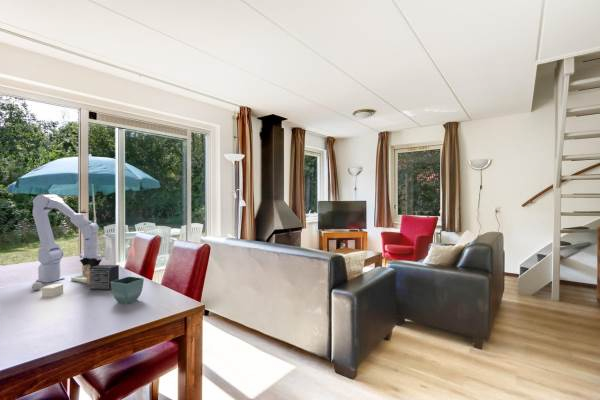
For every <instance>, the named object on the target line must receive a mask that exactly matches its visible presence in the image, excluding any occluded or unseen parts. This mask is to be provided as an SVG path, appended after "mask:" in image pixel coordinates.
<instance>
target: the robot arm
mask: <svg viewBox="0 0 600 400" xmlns="http://www.w3.org/2000/svg"><path fill="white" fill-rule="evenodd" d="M32 203H33V207H32V216H33V217H32V218H33V219H34V224H35V226H36V231H37V235H38V239H39V242H40V247H39V249H38V250H37V252H38V253H37V254H38V255H37V261H38V262H39V263H40V265H39V266H38V269H37V270H38V272H37V273H38V279H36V282H40V283H46V284H47V283H51V282H55V281H61V280H63V279H65V277H62V276H61V261H62V260H61V259H63V257H64V250H62V248H61V246H60V245H59V244H58V243H56V241H55V238H54V233H53V230H52V227H51V223H50V218H49V215H48V214H49V213H50V211H52V210H53V209H56V210H59V211H60V212H61V213H62V214H64V215H65V216H67V217H68V218H69V219H70V222H71V223H72V224H73V225H74V226H76V227H77V229H80V233H81V234H82V237H83V253H80V254H79V258H80V260H79V262H80V263H81V265H82V266H83V265H87V264H90V267H93V266H97V265H101V264H100V263H101V262H102V260H103V256H102V255H101V254H98V232H99V231H100V225H98V223H96V222H92V220H89V219H88V218H87V217H85V214H84V213H77V212H75V210H73V208H71V207H70V206H69V205H68V204H67V203H66V202H64V200H63V198H61V197H60V196H59V195H57V194H39V195H36V196H35V197H34V198H33V200H32Z"/></svg>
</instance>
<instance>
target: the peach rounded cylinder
mask: <svg viewBox="0 0 600 400" xmlns="http://www.w3.org/2000/svg"><path fill="white" fill-rule="evenodd" d="M86 285H87V286H90V273H89V274H87V284H86Z"/></svg>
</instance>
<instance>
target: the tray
mask: <svg viewBox="0 0 600 400" xmlns="http://www.w3.org/2000/svg"><path fill="white" fill-rule="evenodd" d="M70 279H71V280H70V281H71V282H75V281H77V282H76V283H80V282H82V283H83V284H86V283H87V278H85V277H83V274H79V275H76V276H71V277H70ZM82 283H81V284H82Z"/></svg>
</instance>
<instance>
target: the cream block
mask: <svg viewBox="0 0 600 400" xmlns="http://www.w3.org/2000/svg"><path fill="white" fill-rule="evenodd" d="M62 294H64V284H63V283H61V284H60V283H59V284H57V283H55V284H53V283H52V284H50V285H47V286H42V288H41V295H42V297H44V298H45V297H46V298H48V297H49V298H54V297H56V296H59V295H62Z"/></svg>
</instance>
